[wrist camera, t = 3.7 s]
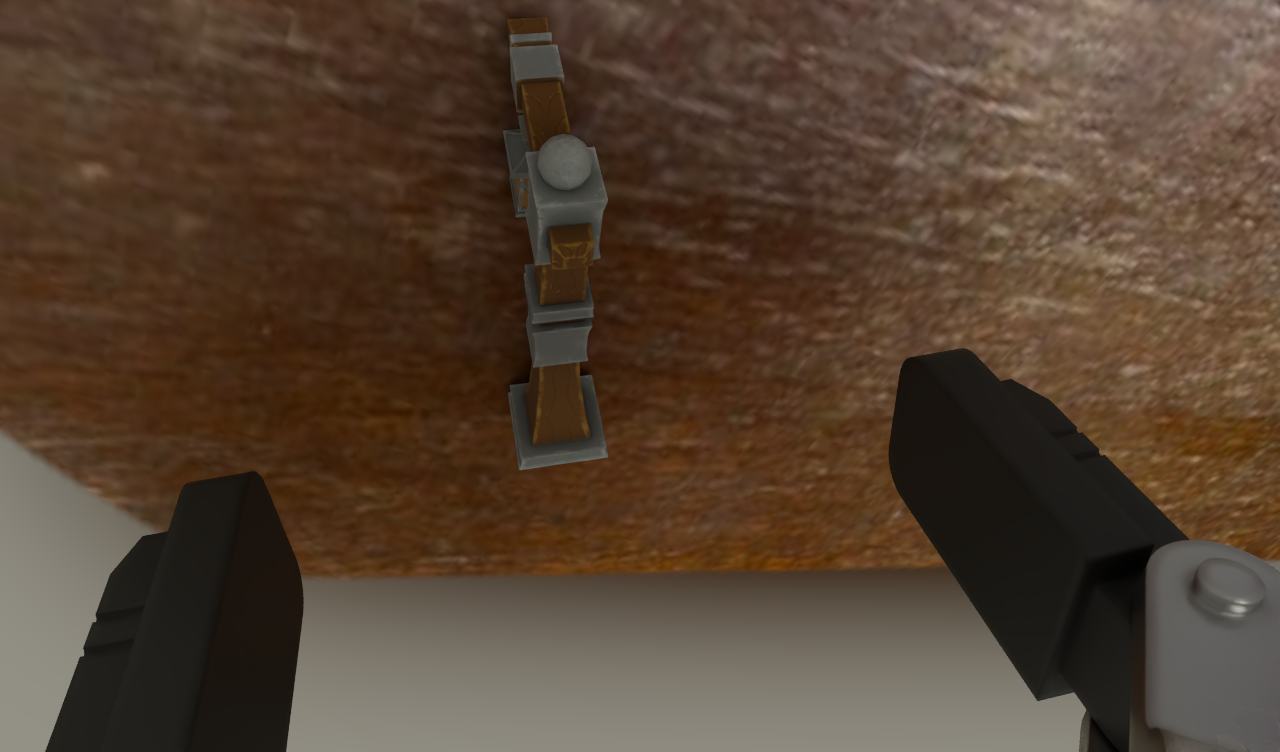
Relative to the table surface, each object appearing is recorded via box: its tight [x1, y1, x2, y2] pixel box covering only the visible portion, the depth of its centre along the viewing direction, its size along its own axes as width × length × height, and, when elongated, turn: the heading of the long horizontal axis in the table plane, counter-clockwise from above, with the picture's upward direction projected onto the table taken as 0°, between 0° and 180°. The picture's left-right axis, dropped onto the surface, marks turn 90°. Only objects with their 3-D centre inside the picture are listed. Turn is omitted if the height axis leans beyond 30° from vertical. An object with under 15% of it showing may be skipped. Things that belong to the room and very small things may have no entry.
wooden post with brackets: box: [503, 17, 608, 470], centre depth 15 cm, size 2×8×4 cm, turn 0°
